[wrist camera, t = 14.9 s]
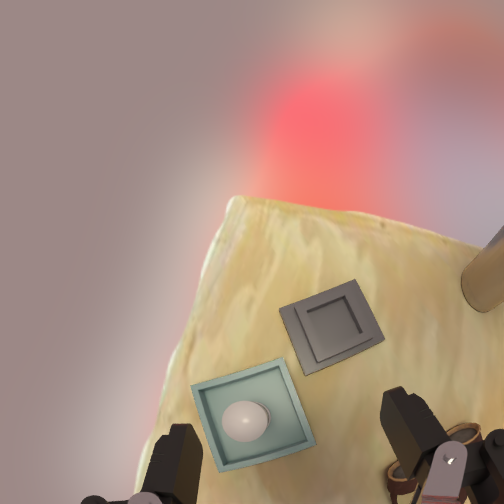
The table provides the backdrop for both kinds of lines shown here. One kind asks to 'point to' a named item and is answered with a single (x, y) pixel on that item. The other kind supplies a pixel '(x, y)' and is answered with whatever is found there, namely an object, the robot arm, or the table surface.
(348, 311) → the grey recessed base plate
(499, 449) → the robot arm
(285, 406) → the parts tray
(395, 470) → the goggles
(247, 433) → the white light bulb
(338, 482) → the table surface
